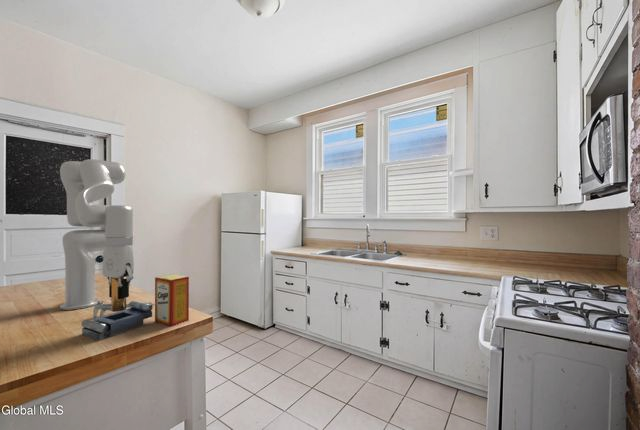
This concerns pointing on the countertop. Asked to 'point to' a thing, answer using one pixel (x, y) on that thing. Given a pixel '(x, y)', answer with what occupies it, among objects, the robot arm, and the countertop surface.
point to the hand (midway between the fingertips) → (119, 296)
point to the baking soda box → (171, 299)
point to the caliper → (106, 308)
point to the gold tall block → (115, 302)
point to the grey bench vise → (117, 321)
